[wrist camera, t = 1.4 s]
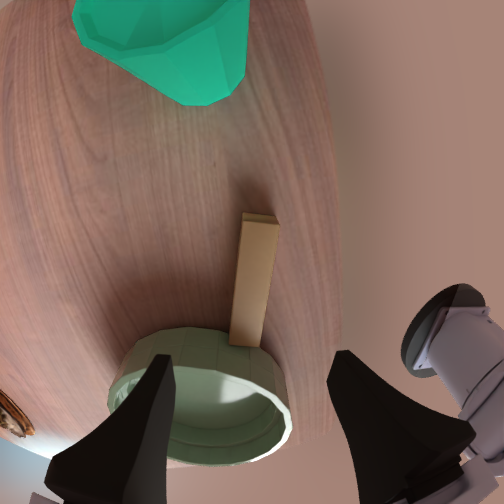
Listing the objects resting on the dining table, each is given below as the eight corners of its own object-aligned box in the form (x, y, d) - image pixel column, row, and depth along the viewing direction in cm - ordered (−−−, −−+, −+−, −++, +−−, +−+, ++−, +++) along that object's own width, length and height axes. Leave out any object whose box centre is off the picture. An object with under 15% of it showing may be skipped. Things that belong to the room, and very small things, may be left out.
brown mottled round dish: (-34, 363, 25) (-45, 377, 21) (20, 401, 26) (9, 418, 22) (-8, 411, 29) (-16, 423, 26) (44, 443, 31) (37, 458, 27)
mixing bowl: (301, 331, 22) (314, 374, 17) (269, 433, 27) (273, 469, 22) (114, 310, 20) (88, 347, 16) (136, 418, 26) (126, 452, 21)
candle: (266, 68, 15) (306, -45, 4) (193, 125, 16) (105, 87, 5) (208, 12, 13) (174, -109, 2) (137, 67, 14) (24, -3, 3)
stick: (276, 216, 18) (280, 224, 16) (257, 329, 21) (259, 347, 19) (242, 212, 18) (242, 220, 16) (229, 327, 21) (228, 345, 19)
